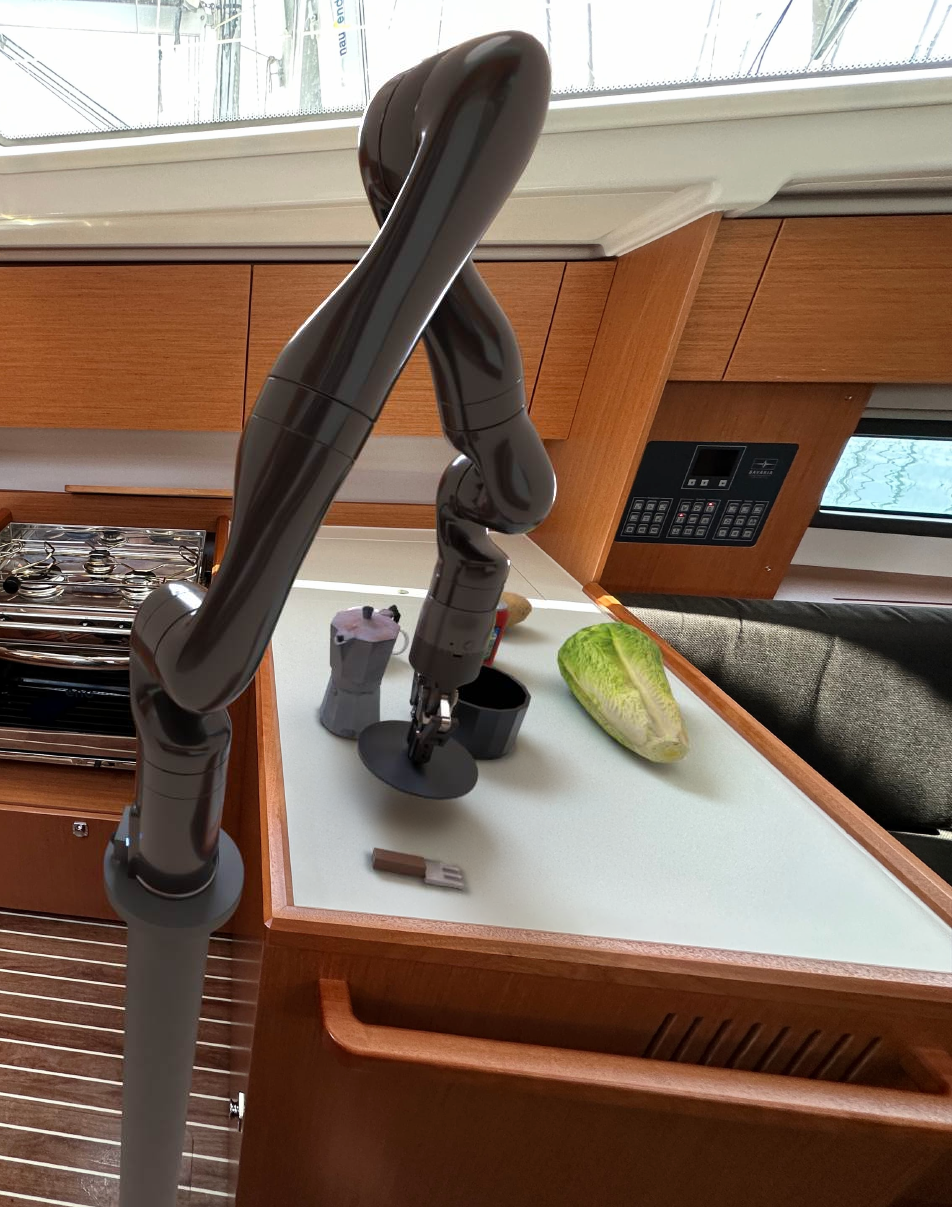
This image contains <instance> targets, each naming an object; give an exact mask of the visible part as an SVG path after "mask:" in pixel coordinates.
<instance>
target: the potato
mask: <svg viewBox="0 0 952 1207" xmlns="http://www.w3.org/2000/svg"><path fill="white" fill-rule="evenodd" d="M500 600H502V601H504V602H505V603H506V604H507V609H508V613H509V617H508V620H507V624H506V627H505V629H506V628H507V629H508V628H510V627H513V626H515V625H518V624H520V623H522V622H525V620H526V619H527V617H528V616H529V615H530V614H531V613H532V611H533V608H532V607H533V606H532V604H531V602H530V601H529V600H528V599H527V598H526V597H525V596H522V595H520V594H518V593H515V592H509V591H504V590H503V593H502V596H501V599H500Z"/></svg>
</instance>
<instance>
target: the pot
mask: <svg viewBox="0 0 952 1207" xmlns="http://www.w3.org/2000/svg"><path fill="white" fill-rule="evenodd" d="M456 690H458V699H457V702H456V705H454V706H453V708H452V712H451V716H450V718H456V719H458V723H459V725H458V728H457V729H456V731H455V732H454V733H453V735H452V736H451V738H453V739H454V740H456V741H457V742H458V743H460V744H461V745H462V746H463V747H464V748H465V749H466V750H467V751H468V752H469V753H470V754H471V756H472V757H473V759H474V760H480V761H492V760H498V759H501V758H503V757H504V758H505V757H506V756H507V755H508V754H510V752H511V751H512V750H513V747H514V745H515V743H516V740H517V737H518V734H519V732H520V730H521V727H522V724H523V721H524V720H525V717H526V715H527V712H528V709H529V707H530V703H531V699H532V695H531V693H530V691H529V690H528V688H527V686H526V685H525V684H523V683H522V681H520V680H518V679H517V678H516V677H515V676H513V675H512V674H509V673H508V672H505V671H504V670H502V669H500V668H498V667H495V666H492V665H491V666H489V665H486V664H483V663H482V666H481V669H480V672H479V675H478V677H477V678H476V679H475V680H474V681H473V682H471V683H468V684H464V685H461V686H459V687H458V688H456Z"/></svg>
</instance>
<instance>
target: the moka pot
mask: <svg viewBox="0 0 952 1207" xmlns="http://www.w3.org/2000/svg"><path fill="white" fill-rule="evenodd" d="M361 607H362V609H354V610H348V609H347V610H348V611H347V610H342V611H337V612H336V614H335V615H334V617H333V619H332V620H331V621H330V624H329V635H330V636H329V667H330V668H331V669H330V676H329V679H328V683H327V684H326V685H327V686H326V688H325V692H324V694H323V698H322V701H321V704H320V708H319V721H320V722H321V724H322V725H323V726H324V727H325V729H327V730H328V731H329V732H331V733H333V734H335V735H338V736H340V737H344V738H348V739H358V738H359V735H360V733H361V732H362V731H363V730H364V729H365V728H366V727H368V726H369V725H371V724H374V723H377V722H380V721H381V719H380V718H381V685H382V682H383V678H384V675H385V672H386V670H387V667H388V664H389V662H390V659H391V656H392V655H391V653H392V651H394V647H395V646H396V643H397V640H398V637H399V634H400V632H399V631H400V628H402V627H401V626H400V624H399V623H400V619H401V617H402V615H401V613H400V610H399V609H398V606H397V605H396V604H392V605H391V606H389V607H388V608H382V609H380V610H379V612H373V611H374V609H375V608H374V607H373V606H370V605H364V606H361Z"/></svg>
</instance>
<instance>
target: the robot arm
mask: <svg viewBox="0 0 952 1207" xmlns="http://www.w3.org/2000/svg"><path fill="white" fill-rule="evenodd" d="M551 93H552V68H551V63H550V58H549V55H548V52H547V49H546V48H545V46H544V44H543V43H542V42H540V40H538V39H537V38H536V37H535V36H534V35H533V34H531V33H528V32H525V31H522V30H519V29H518V30H517V29H516V30H515V29H511V30H510V29H509V30H501V31H500V30H499V31H496V32H492V33H489V34H488V33H487V34H484V35H481V36H476V37H473V38H471V39H469V40H466V41H464V42H462V43H460V44H457V45H455V46H453V47H450V48H448V49H445V50H443V51H441V52H438V53H436V54H433V55H431V56H429V57H426V58H424V59H421V60H419V61H417V62H415V63H412V64H411V65H408V66H406V67H404V68H402V69H400V70H398V71H396V72H395V73H393V74H392V75H389V77H388V78H386V79H385V80H384V81H383V82H382V83H381V84H380V86H379V87H378V88H377V89H376V91H375V92H374V93H373V95H372V96H371V98H370V100H369V101H368V103H367V106H366V107H365V110H364V113H363V116H362V119H361V122H360V127H359V131H358V138H357V159H358V160H357V161H358V167H359V173H360V177H361V181H362V185H363V188H364V191H365V194H366V198H367V201H368V203H369V206H370V209H371V212H372V214H373V217H374V219H375V222H376V223H377V226H378V229H379V232H378V234H377V235H376V237H375V239H374V241H373V242H372V244H371V245H370V247H369V248H368V250H367V251H366V253H365V254H364V255H363V256H362V258H361V259H360V260H359V261H358V263H357V264H356V265H355V267H354V268H353V269H352V270H351V271H350V272H349V274H347V276H345V278H344V279H343V280H342V282H341V283H340V284H339V285H338V286H337V287H336V288H335V289H334V290H333V291H332V292H331V293H330V294H329V295H328V296H327V297H326V298H325V299H324V300H323V301H322V303H321V304H320V305H319V306H318V307H317V308H316V309H315V310H314V311H313V312H312V313H311V314H310V316H308V318H306V320H305V321H304V322H303V323H302V324H301V326H300V327H299V328H298V329H297V330H296V331H295V333H294V334H293V335H292V336H291V337H290V339H289V340H288V341H287V342H286V343H285V345H284V346H283V348H282V349H281V351H280V352H279V353H278V355H277V357H276V358H275V360H274V362H273V364H272V365H271V367H270V369H269V371H268V372H267V375H266V378H265V380H264V382H263V384H262V386H261V388H260V390H259V393H258V395H257V396H256V399H255V401H254V404H253V405H252V407H251V410H250V412H249V414H248V416H247V418H246V420H245V423H244V425H243V428H242V430H241V433H240V436H239V440H238V444H237V449H236V455H235V463H234V474H233V486H232V503H231V516H230V517H231V518H230V527H229V533H228V538H227V542H226V545H225V549H224V552H223V556H222V558H221V559H220V562H219V566H218V567H217V570H216V572H215V574H214V576H213V579H212V581H211V583H210V584H209V587H208V588H207V587H206V586H204V585H202V584H200V583H198V582H195V581H192V580H187V579H185V580H183V579H182V580H181V579H180V580H172V581H169V582H165V583H163V584H161V585H159V586H157V587H156V588H155V589H153V590H152V591H151V592H150V593H149V594H147V596H146V597H145V598H144V599H143V600H142V602H141V603H140V604H139V606H138V608H137V609H136V612H135V614H134V617H133V620H132V623H131V628H130V634H129V643H128V644H129V646H128V648H129V649H128V653H129V654H128V664H129V665H128V668H129V672H128V673H129V703H130V704H129V705H130V710H131V716H132V719H133V722H134V725H135V730H136V735H135V736H136V741H135V742H136V746H135V747H136V748H135V774H134V777H135V778H134V797H133V800H132V802H131V806H130V805H125V807H124V809H123V812H122V815H121V818H120V821H119V823H118V827H117V829H115V830H114V831H113V832H112V831H111V833H110V834H109V842H110V841H111V843H112V844H113V845H114V860H119V861H124V862H128V864H127V877H128V878H131V879H135V880H137V881H138V883H139V884H140V885H141V886H142V887H143V888H144V889H145V890H146V891H148V892H149V893H151V894H153V895H155V896H157V897H159V898H162V899H166V900H174V901H179V900H187V899H191V898H194V897H196V896H198V895H200V894H201V893H203V892H204V891H205V890H206V889H207V888H208V887H209V886H210V885H211V883H212V882H213V880H214V877H215V874H216V867H217V852H218V867H219V836H220V828H221V829H222V819H223V811H224V803H225V795H226V794H225V793H226V786H227V779H228V778H227V777H228V776H227V775H228V769H229V760H230V754H231V753H230V752H231V748H232V747H231V746H232V739H233V738H232V736H233V725H232V721H231V717H230V715H229V712H228V710H227V707H228V706H230V705H231V704H232V703H233V702H234V701H235V700H237V699H238V698H239V697H240V695H241V694H243V692H244V691H245V689H247V687H248V686H249V685H250V683H251V682H252V680H253V678H254V677H255V675H256V673H257V671H258V669H259V667H260V666H261V664H262V661H263V659H264V657H265V654H266V651H267V650H268V647H269V645H270V642H271V640H272V637H273V635H274V632H275V631H276V627H277V625H278V623H279V621H280V618H281V615H282V613H283V611H284V608H285V605H286V603H287V600H288V598H289V595H290V593H291V591H292V588H293V586H294V584H295V581H296V580H297V577H298V575H299V572H300V570H301V569H302V566H303V564H304V562H305V560H306V558H307V556H308V554H309V551H310V550H311V548H312V546H313V544H314V542H315V540H316V538H317V536H318V534H319V532H320V529H321V528H322V525H323V523H324V521H325V519H326V517H327V515H328V513H329V511H330V509H331V507H332V505H333V503H334V502H335V500H336V497H337V496H338V494H339V492H340V491H341V489H342V487H343V485H344V483H345V482H346V480H347V478H348V477H349V475H350V473H351V472H352V470H353V469H354V467H355V465H356V463H357V461H358V459H359V457H360V455H361V453H362V451H363V449H364V447H365V446H366V445H367V444H366V443H367V442H368V440H369V438H370V436H371V435H372V432H373V431H374V428H375V426H376V425H377V423H378V421H379V419H380V417H381V415H382V413H383V410H384V408H385V406H386V404H387V402H388V400H389V398H390V396H391V394H392V392H393V390H394V387H395V386H396V384H397V382H398V380H399V378H400V376H401V375H402V374H403V371H404V370H405V368H406V366H407V364H408V362H409V361H410V359H411V357H412V355H413V353H414V352H415V350H416V348H417V347H418V344H419V343H420V342H422V345H423V348H424V353H425V356H426V359H427V364H428V367H429V371H430V376H431V381H432V385H433V391H434V397H435V403H436V407H437V412H438V417H439V421H440V426H441V427H440V428H441V431H442V435H443V438H444V441H445V442H446V443H447V445H448V446H449V447H450V448H451V449H453V450H454V451H455V452H457V453H458V455H456V456H455V457H454V458H453V459H452V460H451V461H450V462H449V463H448V465H447V466H446V467H445V469H444V470H443V472H442V475H441V476H440V478H439V482H438V484H437V489H436V493H435V542H436V561H435V564H434V568H433V571H432V574H431V579H430V582H429V586H428V590H427V593H426V596H425V598H424V601H423V602H422V605H421V607H420V611H419V615H418V618H417V623H416V626H415V630H414V634H413V638H412V641H411V645H410V650H409V653H408V662H409V665H410V666H411V668H412V669H413V676H412V685H411V690H410V691H411V692H410V698H409V705H410V706H411V707H412V708H411V711H410V718H411V721H410V722H411V724H410V728H409V731H408V735H407V738H406V740H407V744H409V741H410V737H411V734H412V730H413V727H414V724H415V723H416V722H418V726H417V730H416V735H415V738H414V742H413V745H412V749H411V752H410V758H411V760H412V761H415V762H421V763H428V762H429V761H430V758H431V755H432V752H433V749H434V745H435V746H439V747H443V746H444V745H445V744H446V742H447V741H448V740H449V739H450V737H451V736H452V735H453V733H454V732H455V731H456V729H457V728H458V725H459V723H458V719H456V718H450V716H451V712H452V708H453V706H454V705H456V702H457V699H458V690H456V688H458V687H459V686H461V685H464V684H468V683H471V682H473V681H474V680H475V679H476V678H477V677H478V675H479V672H480V669H481V666H482V663H483V660H484V657H485V654H486V651H487V648H488V645H489V641H490V638H491V635H492V632H493V629H494V626H495V621H496V614H497V609H498V605H499V602H500V599H501V596H502V593H503V591H504V590H505V587H506V585H507V581H508V577H509V574H510V571H511V559H510V557H509V556H508V554H507V553H506V552H505V551H504V550H503V549H502V548H501V547H499V546H498V545H497V544H496V543H495V542H494V540H492V539H491V536H490V534H489V530H491V531H493V532H496V533H498V534H501V535H507V536H520V535H524V534H527V533H529V532H532V531H534V530H535V529H537V528H538V527H539V526H540V525H542V524H543V523H544V522H545V520H546V519H547V517H548V516H549V515H550V514H551V511H552V509H553V506H554V504H555V500H556V496H557V478H556V473H555V469H554V466H553V464H552V461H551V458H550V456H549V454H548V452H547V450H546V447H545V444H544V443H543V440H542V439H541V436H540V434H539V431H538V429H537V428H536V426H535V424H534V422H533V420H532V419H531V416H530V414H529V411H528V399H527V388H526V379H525V370H524V361H523V354H522V349H521V346H520V343H519V340H518V337H517V334H516V333H515V330H514V328H513V326H512V324H511V322H510V320H509V318H508V316H507V315H506V313H505V311H504V310H503V308H502V307H501V305H500V304H499V302H498V300H497V299H496V297H495V296H494V294H493V293H492V291H491V290H490V289H489V287H488V285H487V284H486V282H485V280H483V278H482V276H481V274H480V272H479V271H478V268H477V267H476V265H475V263H474V261H473V259H472V254H473V252H474V251H475V249H476V248H477V246H478V245H479V243H480V242H481V240H482V238H483V237H484V236H485V234H486V232H487V231H488V229H489V228H490V227H491V225H492V223H493V222H494V220H495V219H496V217H497V215H498V214H499V212H500V211H501V210H502V208H503V206H504V205H505V203H506V201H507V200H508V199H509V197H510V195H511V194H512V193H513V191H514V189H515V187H516V186H517V184H518V182H519V180H520V179H521V177H522V175H523V174H524V172H525V170H526V169H527V166H528V164H529V162H530V161H531V158H532V157H533V154H534V152H535V150H536V148H537V145H538V143H539V140H540V137H541V135H542V132H543V129H544V127H545V123H546V119H547V116H548V113H549V112H548V111H549V107H550V101H551ZM426 724H427V725H426ZM425 725H426V727H425Z"/></svg>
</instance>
